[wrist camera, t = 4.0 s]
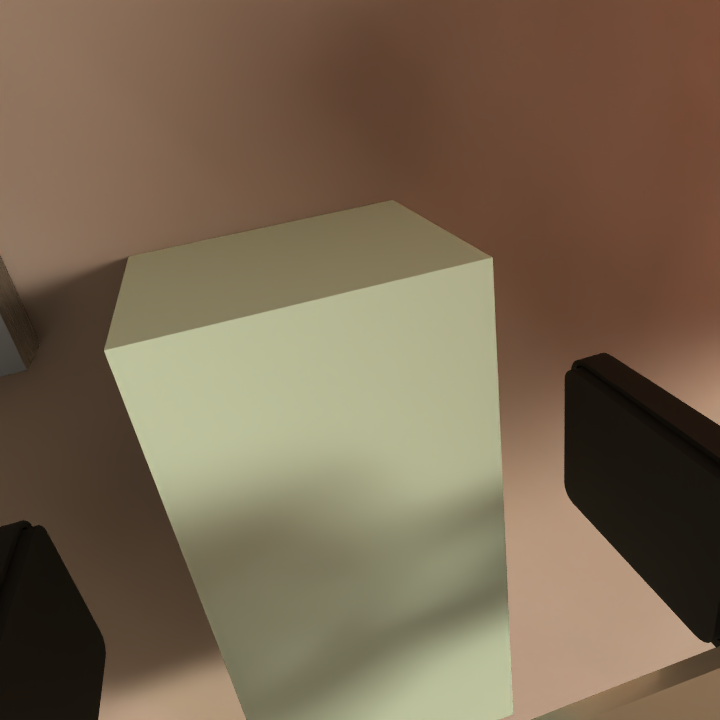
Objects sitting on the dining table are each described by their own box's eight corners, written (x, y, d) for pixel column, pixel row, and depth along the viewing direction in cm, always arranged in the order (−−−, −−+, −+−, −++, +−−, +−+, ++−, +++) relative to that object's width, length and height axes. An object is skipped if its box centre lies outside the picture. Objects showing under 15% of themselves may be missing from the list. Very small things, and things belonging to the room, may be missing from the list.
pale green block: (388, 197, 11) (492, 257, 7) (433, 563, 15) (513, 714, 11) (129, 253, 10) (104, 351, 6) (254, 623, 14) (279, 804, 10)
